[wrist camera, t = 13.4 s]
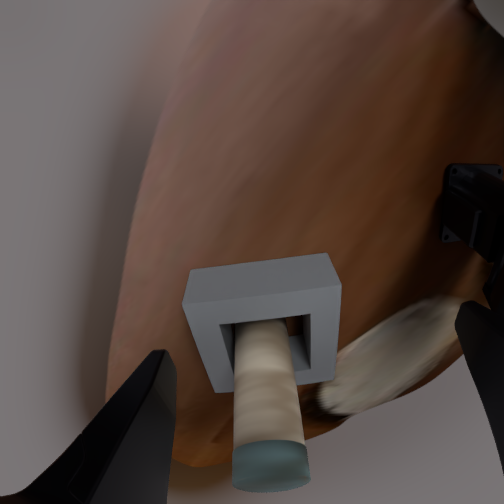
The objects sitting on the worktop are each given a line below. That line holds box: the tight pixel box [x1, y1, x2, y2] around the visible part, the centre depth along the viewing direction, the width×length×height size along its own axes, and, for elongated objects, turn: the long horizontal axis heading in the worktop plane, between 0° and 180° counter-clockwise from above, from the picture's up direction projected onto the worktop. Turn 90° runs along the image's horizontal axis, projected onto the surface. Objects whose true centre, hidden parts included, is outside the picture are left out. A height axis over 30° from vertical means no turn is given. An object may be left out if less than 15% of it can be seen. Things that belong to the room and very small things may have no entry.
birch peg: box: [232, 317, 311, 492], centre depth 18 cm, size 4×4×14 cm
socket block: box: [182, 253, 342, 393], centre depth 22 cm, size 10×10×4 cm
